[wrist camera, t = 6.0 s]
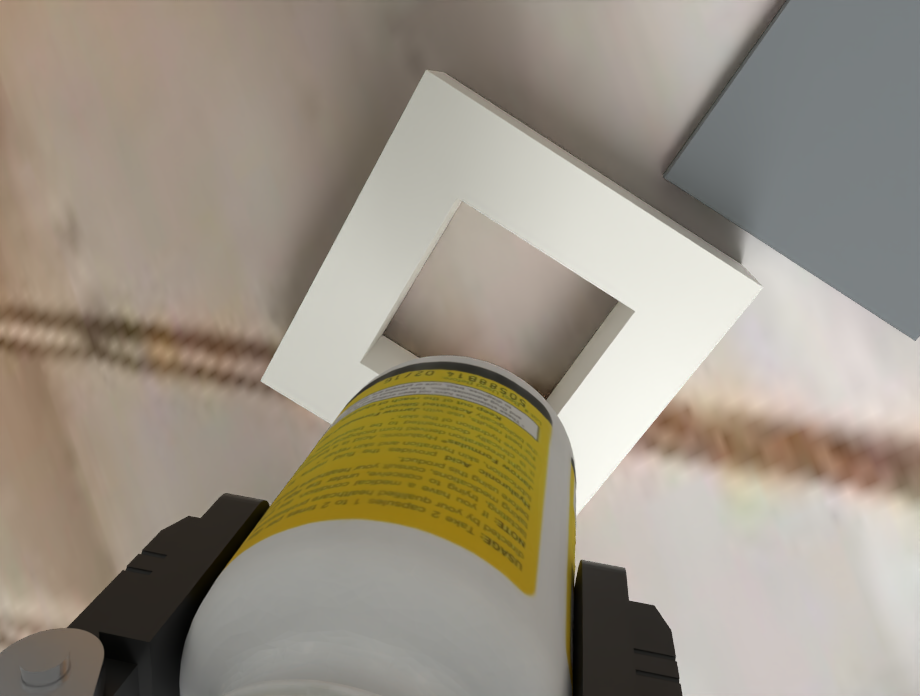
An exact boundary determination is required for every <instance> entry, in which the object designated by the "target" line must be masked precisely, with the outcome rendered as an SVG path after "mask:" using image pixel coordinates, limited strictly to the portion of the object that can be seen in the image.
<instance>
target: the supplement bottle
mask: <svg viewBox="0 0 920 696" xmlns="http://www.w3.org/2000/svg"><path fill="white" fill-rule="evenodd" d="M575 536H576V471H575V460H574V455H573V451H572V447H571V443H570V440H569V437H568V435H567V433H566V430H565V428H564V426H563V424H562V422H561V421H560V419H559V417H558V416H557V414H556V413H555V411H554V410H553V408H552V407H551V406H550V404H549V403H548V402H547V401H546V400H545V399H544V398H543V397H542V395H540V394H539V393H538V392H537V391H536V390H535V389H534V388H533V387H532V386H530V385H529V384H528V383H527V382H525V381H524V380H522V379H521V378H519V377H518V376H516V375H514V374H513V373H511V372H510V371H508V370H506V369H503V368H501V367H499V366H497V365H494V364H492V363H489V362H486V361H483V360H479V359H474V358H470V357H463V356H450V355H441V356H428V357H422V358H417V359H413V360H410V361H407V362H404V363H401V364H399V365H396V366H394V367H392V368H390V369H388V370H386V371H385V372H383V373H381V374H380V375H378V376H377V377H375V378H374V379H373V380H371V381H370V382H369V383H368V384H366V385H365V386H364V387H363V388H362V389H361V390H360V391H359V392H358V393H357V394H356V395H355V396H354V397H353V398H352V399H351V400H350V401H349V402H348V403H347V405H346V406H345V407H344V409H343V410H342V411H341V413H340V414H339V415H338V417H337V418H336V419H335V421H334V422H333V423H332V425H331V426H330V427H329V429H328V430H327V431H326V433H325V434H324V435H323V437H322V438H321V439H320V441H319V442H318V443H317V445H316V446H315V448H314V449H313V450H312V452H311V453H310V454H309V456H308V457H307V458H306V460H305V461H304V462H303V464H302V465H301V466H300V467H299V469H298V470H297V471H296V473H295V474H294V476H293V477H292V478H291V480H290V481H289V482H288V483H287V485H286V486H285V487H284V489H283V490H282V491H281V493H280V494H279V495H278V497H277V498H276V499H275V501H274V502H273V503H272V505H271V506H270V507H269V509H268V510H267V511H266V513H265V514H264V516H263V517H262V518H261V520H260V521H259V522H258V524H257V525H256V526H255V528H254V529H253V530H252V532H251V533H250V535H249V536H248V537H247V539H246V540H245V541H244V543H243V544H242V545H241V547H240V548H239V549H238V551H237V552H236V553H235V555H234V556H233V557H232V559H231V560H230V561H229V563H228V564H227V565H226V567H225V568H224V570H223V571H222V572H221V574H220V575H219V576H218V578H217V579H216V581H215V582H214V584H213V585H212V587H211V589H210V590H209V592H208V593H207V595H206V597H205V598H204V600H203V602H202V603H201V605H200V606H199V608H198V610H197V612H196V614H195V616H194V618H193V620H192V623H191V626H190V629H189V631H188V634H187V637H186V640H185V644H184V648H183V653H182V659H181V667H180V679H179V687H180V696H573V651H574V648H573V629H574V623H573V621H574V575H575V544H576V538H575Z"/></svg>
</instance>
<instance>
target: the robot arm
mask: <svg viewBox="0 0 920 696" xmlns="http://www.w3.org/2000/svg"><path fill="white" fill-rule="evenodd" d="M269 507H270V506H269V503H268V502H267V501H265V500H260V499H255V498H249V497H244V496H238V495H233V494H228V493H226V494H223V495H222V496H221V497H220V498H219V499H218V500H217V501H216V502H215V503H214V504H213V505H212V506H211V507H210V509H209V510H208V511H207V512H206V513H205V514H204V515H203V516H202V517H201V518H197V517H191V516H188V517H186V518H184V519H182V520H180V521H178V522H176V523H175V524H173V525H171V526H169V527H167V528H165V529H163V530H161V531H160V532H159V533H158V534H157V536H156V537H155V538H154V539H153V540H152V541H151V542H150V543H149V544H148V545H147V546H146V547H145V548H144V549H143V550H142V554H138V555H137V556H136V557H135V558H134V559H133V560H132V561H131V562H130V563H129V564H128V565H127V568H126V570H125V571H124V570H123V571H122V572H121V573H120V574H119V575H118V576H117V577H116V578H115V579H114V580H113V581H112V582H111V583H110V584H109V585H108V586H107V587H106V588H105V589H104V590H103V591H102V592H101V593H100V594H99V595H98V596H97V597H96V598H95V599H94V600H93V602H92V603H91V604H90V605H89V606H88V607H87V608H86V609H85V610H84V611H83V612H82V613H81V614H80V615H79V616H78V617H77V618H76V619H75V620H74V621H73V622H72V623H71V624H70V625H69V626H68V627H67V628H58V629H50V630H46V631H42V632H38V633H35V634H32V635H30V636H27V637H25V638H23V639H21V640H19V641H17V642H15V643H14V644H12V645H10V646H9V647H8V648H6V649H5V650H3V651H2V652H1V653H0V696H180V687H179V679H180V667H181V659H182V653H183V648H184V644H185V640H186V637H187V634H188V631H189V629H190V626H191V623H192V620H193V618H194V616H195V614H196V612H197V610H198V608H199V606H200V605H201V603H202V602H203V600H204V598H205V597H206V595H207V593H208V592H209V590H210V589H211V587H212V585H213V584H214V582H215V581H216V579H217V578H218V576H219V575H220V574H221V572H222V571H223V570H224V568H225V567H226V565H227V564H228V563H229V561H230V560H231V559H232V557H233V556H234V555H235V553H236V552H237V551H238V549H239V548H240V547H241V545H242V544H243V543H244V541H245V540H246V539H247V537H248V536H249V535H250V533H251V532H252V530H253V529H254V528H255V526H256V525H257V524H258V522H259V521H260V520H261V518H262V517H263V516H264V514H265V513H266V511H267V510H268V509H269ZM573 623H574V629H573V648H574V651H573V696H682V690H681V684H679V673H678V667H677V662H676V661H675V658H676V655H675V649H674V644H673V638H672V632H671V629H670V628H669V626H668V625H667V623H666V622H665V621H664V619H663V618H662V616H661V615H660V613H659V612H658V610H657V609H656V607H655V606H654V605H649V604H644V603H638V602H633V601H629V597H628V587H627V577H626V570H625V568H622V567H617V566H611V565H606V564H601V563H595V562H590V561H585V560H581V561H580V564H579V567H578V572H577V577H576V582H575V587H574V621H573Z"/></svg>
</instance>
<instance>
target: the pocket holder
mask: <svg viewBox="0 0 920 696" xmlns="http://www.w3.org/2000/svg"><path fill="white" fill-rule="evenodd" d="M462 201H463V202H464V203H466V204H468V205H469V206H471V207H472V208H474V209H475V210H477V211H479V212H480V213H482V214H483V215H485V216H486V217H488V218H490V219H491V220H493V221H494V222H496V223H497V224H499V225H501V226H502V227H504V228H505V229H507V230H508V231H510V232H512V233H513V234H515V235H516V236H518V237H519V238H521V239H523V240H524V241H526V242H527V243H529V244H530V245H532V246H534V247H535V248H537V249H538V250H540V251H541V252H543V253H545V254H546V255H548V256H549V257H551V258H552V259H554V260H556V261H557V262H559V263H560V264H562V265H563V266H565V267H567V268H568V269H570V270H571V271H573V272H574V273H576V274H578V275H579V276H581V277H582V278H584V279H585V280H587V281H589V282H590V283H592V284H593V285H595V286H596V287H598V288H599V289H601V290H603V291H604V292H606V293H607V294H609V295H610V296H612V297H614V298H615V299H617V300H618V303H617V304H616V306H615V307H614V308H613V310H612V311H611V312H610V314H609V315H608V316H607V318H606V319H605V321H604V322H603V323H602V325H601V326H600V327H599V329H598V330H597V331H596V333H595V334H594V336H593V337H592V338H591V340H590V341H589V342H588V344H587V345H586V346H585V348H584V349H583V351H582V352H581V353H580V355H579V356H578V357H577V359H576V360H575V361H574V363H573V364H572V366H571V367H570V368H569V370H568V371H567V372H566V374H565V375H564V376H563V378H562V379H561V381H560V382H559V383H558V385H557V386H556V387H555V389H554V390H553V391H552V393H551V394H550V396H549V397H548V398H547V400H546V401H547V402H548V403H549V404H550V406H551V407H552V408H553V410H554V411H555V413H556V414H557V416H558V417H559V419H560V421H561V422H562V424H563V426H564V428H565V430H566V433H567V435H568V437H569V440H570V443H571V447H572V451H573V455H574V460H575V471H576V516H577V515H578V513H579V512H580V511H581V510H582V508H583V507H584V506H585V505H586V504H587V502H588V501H589V500H590V499H591V497H592V496H593V495H594V494H595V493H596V491H597V490H598V489H599V488H600V486H601V485H602V484H603V483H604V482H605V480H606V479H607V478H608V477H609V475H610V474H611V473H612V472H613V471H614V469H615V468H616V467H617V466H618V464H619V463H620V462H621V461H622V460H623V458H624V457H625V456H626V455H627V453H628V452H629V451H630V450H631V449H632V447H633V446H634V445H635V444H636V442H637V441H638V440H639V439H640V438H641V436H642V435H643V434H644V433H645V431H646V430H647V429H648V428H649V427H650V425H651V424H652V423H653V422H654V420H655V419H656V418H657V417H658V416H659V414H660V413H661V412H662V411H663V409H664V408H665V407H666V406H667V405H668V403H669V402H670V401H671V400H672V398H673V397H674V396H675V395H676V394H677V392H678V391H679V390H680V389H681V387H682V386H683V385H684V384H685V383H686V381H687V380H688V379H689V378H690V376H691V375H692V374H693V373H694V372H695V370H696V369H697V368H698V367H699V365H700V364H701V363H702V362H703V361H704V359H705V358H706V357H707V356H708V354H709V353H710V352H711V351H712V350H713V348H714V347H715V346H716V345H717V343H718V342H719V341H720V340H721V339H722V337H723V336H724V335H725V334H726V333H727V331H728V330H729V329H730V328H731V326H732V325H733V324H734V323H735V322H736V320H737V319H738V318H739V317H740V315H741V314H742V313H743V312H744V311H745V309H746V308H747V307H748V306H749V304H750V303H751V302H752V301H753V300H754V298H755V297H756V296H757V295H758V293H759V292H760V291H761V290H762V289H763V287H762V285H761V284H760V283H759V282H758V281H757V280H756V279H755V278H754V277H753V276H752V275H751V274H750V273H749V272H748V271H747V269H746V268H745V267H744V266H743V265H742V264H740V263H738V262H737V261H735V260H734V259H732V258H731V257H729V256H728V255H726V254H725V253H723V252H721V251H720V250H718V249H717V248H715V247H714V246H712V245H711V244H709V243H708V242H706V241H704V240H703V239H701V238H700V237H698V236H697V235H695V234H694V233H692V232H690V231H689V230H687V229H686V228H684V227H683V226H681V225H680V224H678V223H677V222H675V221H673V220H672V219H670V218H669V217H667V216H666V215H664V214H663V213H661V212H660V211H658V210H656V209H655V208H653V207H652V206H650V205H649V204H647V203H646V202H644V201H642V200H641V199H639V198H638V197H636V196H635V195H633V194H632V193H630V192H629V191H627V190H625V189H624V188H622V187H621V186H619V185H618V184H616V183H615V182H613V181H612V180H610V179H608V178H607V177H605V176H604V175H602V174H601V173H599V172H598V171H596V170H595V169H593V168H591V167H590V166H588V165H587V164H585V163H584V162H582V161H581V160H579V159H577V158H576V157H574V156H573V155H571V154H570V153H568V152H567V151H565V150H564V149H562V148H560V147H559V146H557V145H556V144H554V143H553V142H551V141H550V140H548V139H547V138H545V137H543V136H542V135H540V134H539V133H537V132H536V131H534V130H533V129H531V128H530V127H528V126H526V125H525V124H523V123H522V122H520V121H519V120H517V119H516V118H514V117H512V116H511V115H509V114H508V113H506V112H505V111H503V110H502V109H500V108H499V107H497V106H495V105H494V104H492V103H491V102H489V101H488V100H486V99H485V98H483V97H482V96H480V95H478V94H477V93H475V92H474V91H472V90H471V89H469V88H468V87H466V86H464V85H463V84H461V83H460V82H458V81H457V80H455V79H454V78H452V77H451V76H449V75H447V74H446V73H444V72H439V71H431V70H426V71H425V73H424V74H423V76H422V78H421V80H420V82H419V84H418V86H417V88H416V89H415V91H414V93H413V95H412V97H411V99H410V101H409V103H408V105H407V106H406V108H405V110H404V112H403V114H402V116H401V118H400V120H399V121H398V123H397V125H396V127H395V129H394V131H393V133H392V135H391V136H390V138H389V140H388V142H387V144H386V146H385V148H384V150H383V152H382V153H381V155H380V157H379V159H378V161H377V163H376V165H375V167H374V168H373V170H372V172H371V174H370V176H369V178H368V180H367V182H366V183H365V185H364V187H363V189H362V191H361V193H360V195H359V197H358V198H357V200H356V202H355V204H354V206H353V208H352V210H351V212H350V214H349V215H348V217H347V219H346V221H345V223H344V225H343V227H342V229H341V230H340V232H339V234H338V236H337V238H336V240H335V242H334V244H333V245H332V247H331V249H330V251H329V253H328V255H327V257H326V259H325V260H324V262H323V264H322V266H321V268H320V270H319V272H318V274H317V276H316V277H315V279H314V281H313V283H312V285H311V287H310V289H309V291H308V292H307V294H306V296H305V298H304V300H303V302H302V304H301V306H300V307H299V309H298V311H297V313H296V315H295V317H294V319H293V321H292V323H291V324H290V326H289V328H288V330H287V332H286V334H285V336H284V338H283V339H282V341H281V343H280V345H279V347H278V349H277V351H276V353H275V354H274V356H273V358H272V360H271V362H270V364H269V366H268V368H267V369H266V371H265V373H264V375H263V377H262V379H261V382H262V383H264V384H266V385H267V386H269V387H271V388H272V389H274V390H276V391H277V392H279V393H280V394H282V395H284V396H285V397H287V398H289V399H290V400H292V401H294V402H295V403H297V404H298V405H300V406H302V407H303V408H305V409H307V410H308V411H310V412H311V413H313V414H315V415H316V416H318V417H320V418H321V419H323V420H325V421H326V422H328V423H329V424H331V425H332V423H333V422H334V421H335V419H336V418H337V417H338V415H339V414H340V413H341V411H342V410H343V409H344V407H345V406H346V405H347V403H348V402H349V401H350V400H351V399H352V398H353V397H354V396H355V395H356V394H357V393H358V392H359V391H360V390H361V389H362V388H363V387H364V386H365V385H366V384H368V383H369V382H370V381H371V380H373V379H374V378H375V377H377V376H378V375H380V374H381V373H383V372H385V371H386V370H388V369H390V368H392V367H394V366H396V365H399V364H401V363H404V362H407V361H410V360H413V359H417V358H419V357H417V356H415V355H414V354H412V353H411V352H409V351H407V350H406V349H404V348H403V347H401V346H399V345H398V344H396V343H395V342H393V341H391V340H390V339H388V338H386V337H385V336H383V333H384V331H385V330H386V328H387V326H388V324H389V323H390V321H391V319H392V318H393V316H394V314H395V313H396V311H397V309H398V308H399V306H400V304H401V303H402V301H403V299H404V298H405V296H406V294H407V293H408V291H409V289H410V288H411V286H412V284H413V282H414V281H415V279H416V277H417V276H418V274H419V272H420V271H421V269H422V267H423V266H424V264H425V262H426V261H427V259H428V257H429V256H430V254H431V252H432V251H433V249H434V247H435V246H436V244H437V242H438V241H439V239H440V237H441V235H442V234H443V232H444V230H445V229H446V227H447V225H448V224H449V222H450V220H451V219H452V217H453V215H454V214H455V212H456V210H457V209H458V207H459V205H460V204H461V202H462Z"/></svg>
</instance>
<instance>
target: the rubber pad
mask: <svg viewBox="0 0 920 696" xmlns="http://www.w3.org/2000/svg"><path fill="white" fill-rule="evenodd" d="M663 177H664V178H665V179H667V180H668V181H670V182H671V183H673V184H674V185H676V186H677V187H679V188H680V189H682V190H684V191H685V192H687V193H688V194H690V195H691V196H693V197H694V198H696V199H697V200H699V201H700V202H702V203H704V204H705V205H707V206H708V207H710V208H711V209H713V210H714V211H716V212H717V213H719V214H721V215H722V216H724V217H725V218H727V219H728V220H730V221H731V222H733V223H734V224H736V225H737V226H739V227H741V228H742V229H744V230H745V231H747V232H748V233H750V234H751V235H753V236H754V237H756V238H757V239H759V240H761V241H762V242H764V243H765V244H767V245H768V246H770V247H771V248H773V249H774V250H776V251H778V252H779V253H781V254H782V255H784V256H785V257H787V258H788V259H790V260H791V261H793V262H794V263H796V264H798V265H799V266H801V267H802V268H804V269H805V270H807V271H808V272H810V273H811V274H813V275H814V276H816V277H818V278H819V279H821V280H822V281H824V282H825V283H827V284H828V285H830V286H831V287H833V288H835V289H836V290H838V291H839V292H841V293H842V294H844V295H845V296H847V297H848V298H850V299H851V300H853V301H855V302H856V303H858V304H859V305H861V306H862V307H864V308H865V309H867V310H868V311H870V312H871V313H873V314H875V315H876V316H878V317H879V318H881V319H882V320H884V321H885V322H887V323H888V324H890V325H892V326H893V327H895V328H896V329H898V330H899V331H901V332H902V333H904V334H905V335H907V336H908V337H910V338H912V339H913V340H915V341H916V340H917V338H918V337H919V336H920V0H786V2H785V3H784V5H783V6H782V7H781V9H780V10H779V12H778V13H777V15H776V16H775V17H774V19H773V20H772V22H771V23H770V24H769V26H768V27H767V29H766V30H765V32H764V33H763V34H762V36H761V37H760V39H759V40H758V41H757V43H756V44H755V46H754V47H753V49H752V50H751V51H750V53H749V54H748V56H747V57H746V58H745V60H744V61H743V63H742V64H741V66H740V67H739V68H738V70H737V71H736V73H735V74H734V76H733V77H732V78H731V80H730V81H729V83H728V84H727V85H726V87H725V88H724V90H723V91H722V93H721V94H720V95H719V97H718V98H717V100H716V101H715V102H714V104H713V105H712V107H711V108H710V110H709V111H708V112H707V114H706V115H705V117H704V118H703V119H702V121H701V122H700V124H699V125H698V127H697V128H696V129H695V131H694V132H693V134H692V135H691V136H690V138H689V139H688V141H687V142H686V144H685V145H684V146H683V148H682V149H681V151H680V152H679V154H678V155H677V156H676V158H675V159H674V161H673V162H672V163H671V165H670V166H669V168H668V169H667V171H666V172H665V173H664V175H663Z"/></svg>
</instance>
